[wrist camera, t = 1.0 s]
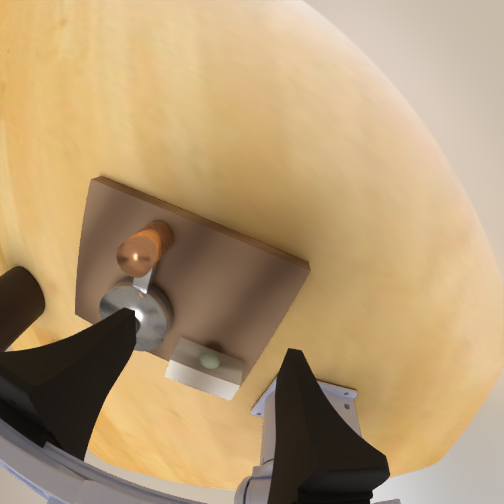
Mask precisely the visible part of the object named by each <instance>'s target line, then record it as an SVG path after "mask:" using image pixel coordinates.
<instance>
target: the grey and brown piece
mask: <svg viewBox="0 0 504 504" xmlns="http://www.w3.org/2000/svg"><path fill="white" fill-rule="evenodd" d="M173 242H174V235H173V232H172V230H171V228H170V227H169V226H168V225H167V224H166V223H164V222H162V221H152V222H150V223H149V224H147V225H146V226H145V227H143V228H142V229H141V230H139V231H138V232H136V233H135V234H134V235H132V236H131V237H130V238H128V239H127V240H126V241H124V242H123V243H122V244H121V245H120V246H119V247H118V249H117V254H116V257H117V262H118V265H119V266H120V268H121V269H122V271H123V272H124V273H126V274H127V275H129V276H131V277H134V278H124V279H121V280H119V281H118V282H117V283H116V284H115V285H114V286H113V287H112V288H111V289H110V290H109V291H108V292H107V293H106V294H105V295H104V296H103V297H102V299H101V301H100V305H99V313H100V318H101V320H103V319H105V318H106V317H108V316H110V315H112V314H113V313H115V312H117V311H118V310H120V309H122V308H124V307H125V308H128V309H131V310H135V313H136V342H137V343H136V345H135V347H134V350H137V351H151V350H154V349H156V348H158V347H159V346H160V345H161V344H162V342H163V341H164V339H165V337H166V335H167V333H168V331H169V329H170V327H171V325H172V321H173V312H172V308H171V305H170V303H169V301H168V300H167V298H166V296H165V295H164V294H163V293H162V292H161V291H160V290H159V289H158V288H157V287H156V286H154V285H153V284H152V281H153V278H154V274H155V270H156V266H157V263H158V261H159V260H160V259H161V258H162V257H163V256H164V255H165V253H166V252H167V251H168V250H169V249H170V248H171V247H172V245H173Z"/></svg>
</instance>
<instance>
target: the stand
mask: <svg viewBox="0 0 504 504" xmlns="http://www.w3.org/2000/svg"><path fill="white" fill-rule="evenodd" d="M152 221H162V222H164V223H166V224H167V225H168V226H169V227H170V228H171V230H172V232H173V235H174V242H173V245H172V247H171V248H170V249H169V250H168V251H167V252H166V253H165V255H164V256H163V257H162V258H161V259H160V260H159V261H158V263H157V266H156V270H155V274H154V278H153V281H152V284H153V285H154V286H156V287H157V288H158V289H159V290H160V291H161V292H162V293H163V294H164V295H165V296H166V298H167V300H168V301H169V303H170V305H171V308H172V312H173V321H172V325H171V327H170V329H169V331H168V333H167V335H166V337H165V339H164V341H163V342H162V344H161V345H160V346H159V347H158V348H156V349H154V350H151V351H147V352H149V353H151V354H153V355H156V356H158V357H160V358H162V359H165V360H167V361H169V364H168V367H167V370H166V373H165V377H167V378H170V379H172V380H175V381H177V382H179V383H182V384H184V385H187V386H190V387H192V388H195V389H198V390H200V391H203V392H206V393H208V394H211V395H214V396H217V397H220V398H223V399H226V400H229V401H231V399H232V398H233V396H234V395H235V393H236V392H237V390H238V389H239V388H240V386H241V385H242V383H243V382H244V380H245V379H246V377H247V376H248V374H249V373H250V371H251V370H252V368H253V366H254V365H255V363H256V362H257V360H258V359H259V357H260V355H261V354H262V352H263V351H264V349H265V347H266V346H267V344H268V343H269V341H270V339H271V338H272V336H273V334H274V333H275V331H276V329H277V328H278V326H279V324H280V323H281V321H282V319H283V318H284V316H285V314H286V313H287V311H288V309H289V308H290V306H291V304H292V302H293V301H294V299H295V297H296V296H297V294H298V292H299V290H300V289H301V287H302V285H303V283H304V282H305V280H306V278H307V276H308V274H309V273H310V267H309V263H308V262H307V261H304V260H302V259H300V258H297V257H295V256H293V255H290V254H288V253H286V252H283V251H281V250H279V249H276V248H274V247H272V246H269V245H267V244H265V243H262V242H260V241H257V240H255V239H253V238H250V237H248V236H246V235H243V234H241V233H238V232H236V231H234V230H231V229H229V228H227V227H224V226H222V225H219V224H217V223H215V222H212V221H210V220H207V219H205V218H203V217H200V216H198V215H195V214H193V213H191V212H188V211H186V210H183V209H181V208H178V207H176V206H174V205H171V204H169V203H166V202H164V201H161V200H159V199H156V198H154V197H152V196H149V195H147V194H144V193H142V192H139V191H137V190H134V189H132V188H129V187H127V186H124V185H122V184H119V183H117V182H114V181H112V180H109V179H107V178H104V177H102V176H100V177H97V178H93V179H91V181H90V186H89V191H88V196H87V201H86V207H85V212H84V218H83V225H82V232H81V239H80V247H79V256H78V267H77V280H76V298H75V314H76V315H78V316H79V317H81V318H83V319H84V320H86V321H88V322H90V323H92V324H93V325H94V324H96V323H98V322H100V321H101V318H100V313H99V305H100V301H101V299H102V297H103V296H104V295H105V294H106V293H107V292H108V291H109V290H110V289H111V288H112V287H113V286H114V285H115V284H116V283H117V282H118V281H119V280H121V279H124V278H134V277H131V276H129V275H127V274H126V273H124V272H123V271H122V269H121V268H120V266H119V265H118V262H117V257H116V254H117V249H118V247H119V246H120V245H121V244H122V243H123V242H124V241H126V240H127V239H128V238H130V237H131V236H132V235H134V234H135V233H136V232H138V231H139V230H141V229H142V228H143V227H145V226H146V225H147V224H149V223H150V222H152Z"/></svg>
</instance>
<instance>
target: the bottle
mask: <svg viewBox="0 0 504 504" xmlns="http://www.w3.org/2000/svg"><path fill="white" fill-rule="evenodd" d="M43 310H44V299H43V296H42V292H41V290H40V288H39V286H38V284H37V283H36V281H35V279H34V278H33V277H32V276H31V275H30V274H29V272H27V271H26V270H24V269H23V268H20V267H15V268H12V269H10V270H9V271H8V272H6V273H5V274H3V275H2V276H0V352H4V351H5V350H6V349H7V348H8V347H9V346H10V345H11V344H12V343H13V342H14V341H15V340H16V339H17V338H18V337H19V336H20V335H21V334H22V333H23V332H24V331H25V330H26V329H27V328H28V327H29V326H30V325H31V324H32V323H33V322H34V321H35V320H36V319H37V318H38V317H40V316H41V315H42V313H43Z"/></svg>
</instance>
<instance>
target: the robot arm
mask: <svg viewBox="0 0 504 504" xmlns="http://www.w3.org/2000/svg"><path fill="white" fill-rule="evenodd" d="M136 343H137V342H136V313H135V310H131V309H128V308H125V307H124V308H122V309H120V310H118V311H117V312H115V313H113V314H112V315H110V316H108V317H106V318H105V319H103V320H101V321H100V322H98V323H96V324H94V325H93V326H91V327H89V328H87V329H85V330H83V331H81V332H79V333H77V334H75V335H73V336H70V337H68V338H65V339H63V340H60V341H57V342H54V343H51V344H48V345H44V346H41V347H37V348H32V349H26V350H20V351H9V352H0V465H1V466H2V467H4V468H5V469H6V470H7V471H8V472H10V473H11V474H12V475H13V476H15V477H16V478H18V479H19V480H20V481H21V482H23V483H24V484H25V485H27V486H28V487H29V488H31V489H32V490H34V491H35V492H37V493H38V494H40V495H41V496H43V497H44V498H46V499H47V500H48V502H47V504H207V503H201V502H197V501H192V500H188V499H184V498H180V497H177V496H173V495H169V494H166V493H162V492H159V491H156V490H152V489H149V488H146V487H143V486H141V485H138V484H135V483H132V482H129V481H127V480H124V479H122V478H119V477H117V476H114V475H112V474H109V473H107V472H105V471H103V470H100V469H98V468H96V467H94V466H91V465H90V464H87V463H85V462H84V457H85V454H86V450H87V447H88V443H89V440H90V437H91V434H92V431H93V428H94V425H95V423H96V420H97V418H98V415H99V413H100V410H101V408H102V406H103V403H104V401H105V399H106V397H107V395H108V393H109V391H110V390H111V388H112V386H113V385H114V383H115V382H116V380H117V378H118V377H119V375H120V373H121V372H122V370H123V369H124V367H125V365H126V364H127V362H128V360H129V359H130V356H131V354H132V352H133V350H134V347H135V345H136ZM357 395H358V392H357V391H356V390H352V389H348V388H344V387H340V386H336V385H332V384H328V383H324V382H321V381H317V380H316V378H315V377H314V375H313V373H312V371H311V369H310V367H309V365H308V363H307V360H306V358H305V356H304V354H303V352H302V350H297V349H291V348H288V351H287V353H286V356H285V358H284V361H283V363H282V366H281V368H280V371H279V373H278V375H277V376H276V378H275V379H274V380H273V382H272V383H271V384H270V386H269V387H268V388H267V390H266V391H265V392H264V394H263V395H262V396H261V398H260V399H259V400H258V401H257V403H256V404H255V405H254V407H253V408H252V409H251V414H253V415H256V416H260V417H263V431H262V445H261V458H260V466H255V467H253V473H252V476H248V477H246V478H244V479H243V481H242V482H241V483H240V485H239V486H238V488H237V490H236V493H235V498H234V504H370V499H371V498H372V497H373V493H372V490H374V489H375V488H377V487H378V486H380V485H381V484H382V483H384V482H385V481H386V480H387V479H388V478H389V476H390V472H389V466H388V462H387V459H386V456H385V455H384V454H382V453H381V452H380V451H378V450H377V449H375V448H374V447H373V446H371V445H370V444H369V443H367V442H366V441H365V440H364V439H363V438H362V436H361V431H360V426H359V421H358V417H357V412H356V407H355V403H354V398H355V397H356V396H357ZM374 504H401V503H400V499H394V500H388V501H382V502H377V503H374Z"/></svg>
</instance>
